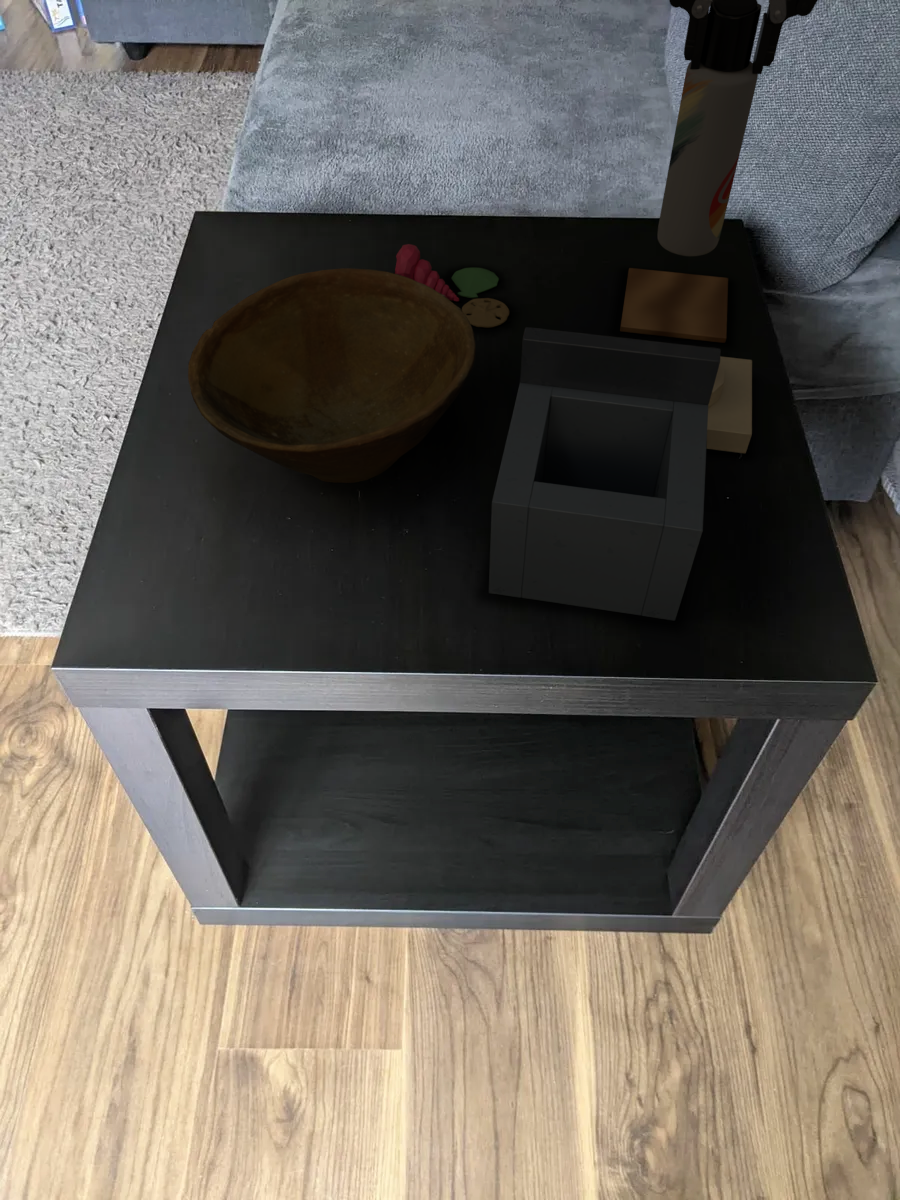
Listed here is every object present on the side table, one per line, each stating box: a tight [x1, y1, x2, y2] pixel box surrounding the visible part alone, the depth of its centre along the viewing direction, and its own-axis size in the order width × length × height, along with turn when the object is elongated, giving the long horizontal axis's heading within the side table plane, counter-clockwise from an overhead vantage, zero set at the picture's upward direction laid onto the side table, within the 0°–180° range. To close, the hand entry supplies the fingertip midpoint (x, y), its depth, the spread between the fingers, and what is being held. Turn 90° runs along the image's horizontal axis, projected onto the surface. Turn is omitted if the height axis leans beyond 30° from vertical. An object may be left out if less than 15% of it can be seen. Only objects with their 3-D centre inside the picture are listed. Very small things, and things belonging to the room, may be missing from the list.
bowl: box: [187, 267, 477, 484], centre depth 77 cm, size 22×23×10 cm
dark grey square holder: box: [488, 326, 722, 622], centre depth 68 cm, size 14×14×14 cm
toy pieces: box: [394, 243, 510, 329], centre depth 92 cm, size 12×11×4 cm
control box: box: [706, 355, 753, 454], centre depth 82 cm, size 12×10×4 cm
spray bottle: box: [656, 0, 762, 257], centre depth 79 cm, size 6×6×20 cm
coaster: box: [619, 267, 729, 344], centre depth 92 cm, size 10×10×1 cm
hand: (726, 66), depth 74 cm, fingers closed on spray bottle, 4 cm apart
